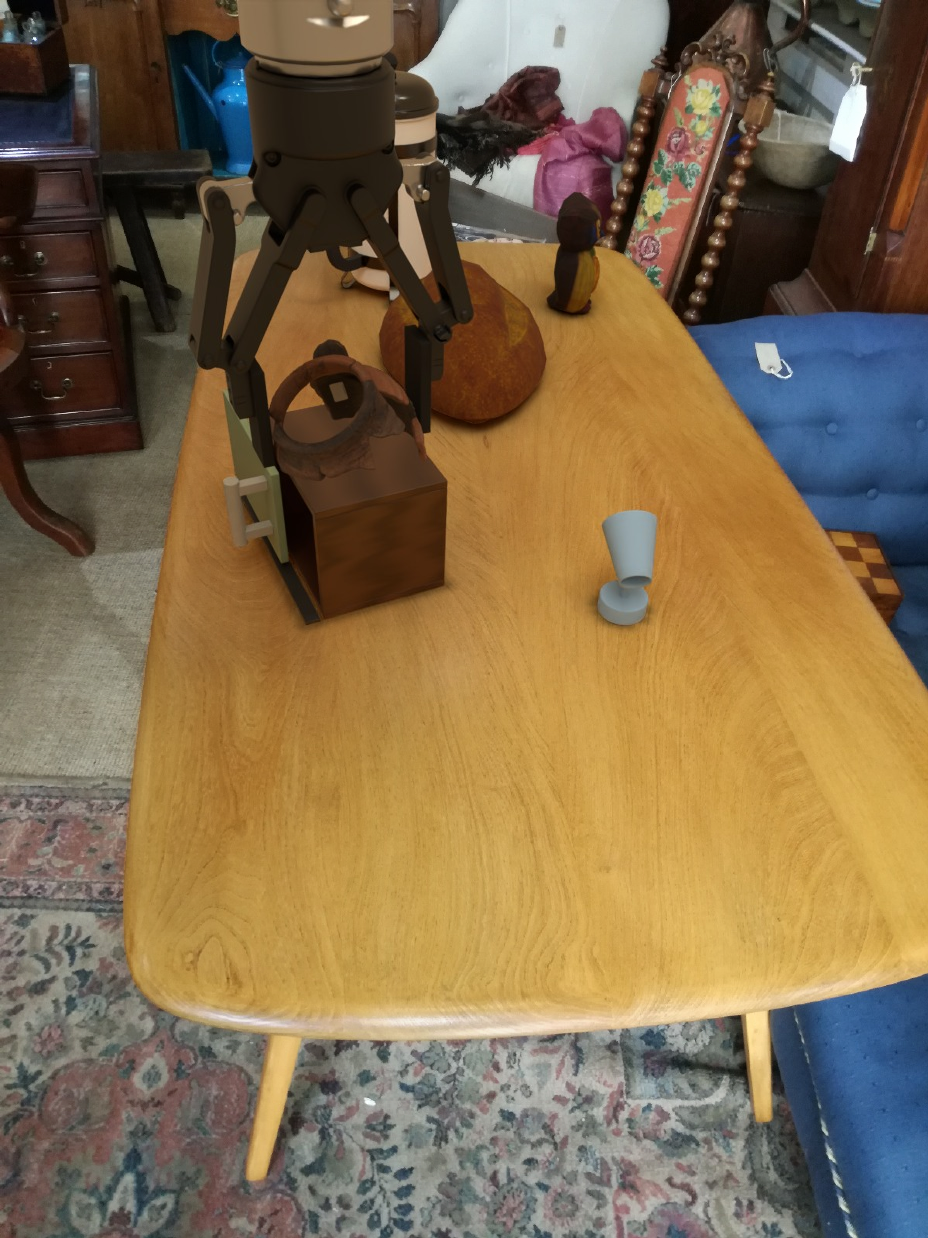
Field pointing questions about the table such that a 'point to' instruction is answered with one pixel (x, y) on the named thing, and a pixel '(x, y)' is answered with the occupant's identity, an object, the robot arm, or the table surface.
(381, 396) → the broken clay pot
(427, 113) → the coffee press
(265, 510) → the sliding door
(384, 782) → the table surface
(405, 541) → the cupboard
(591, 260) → the figurine
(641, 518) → the spotlight
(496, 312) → the bread
